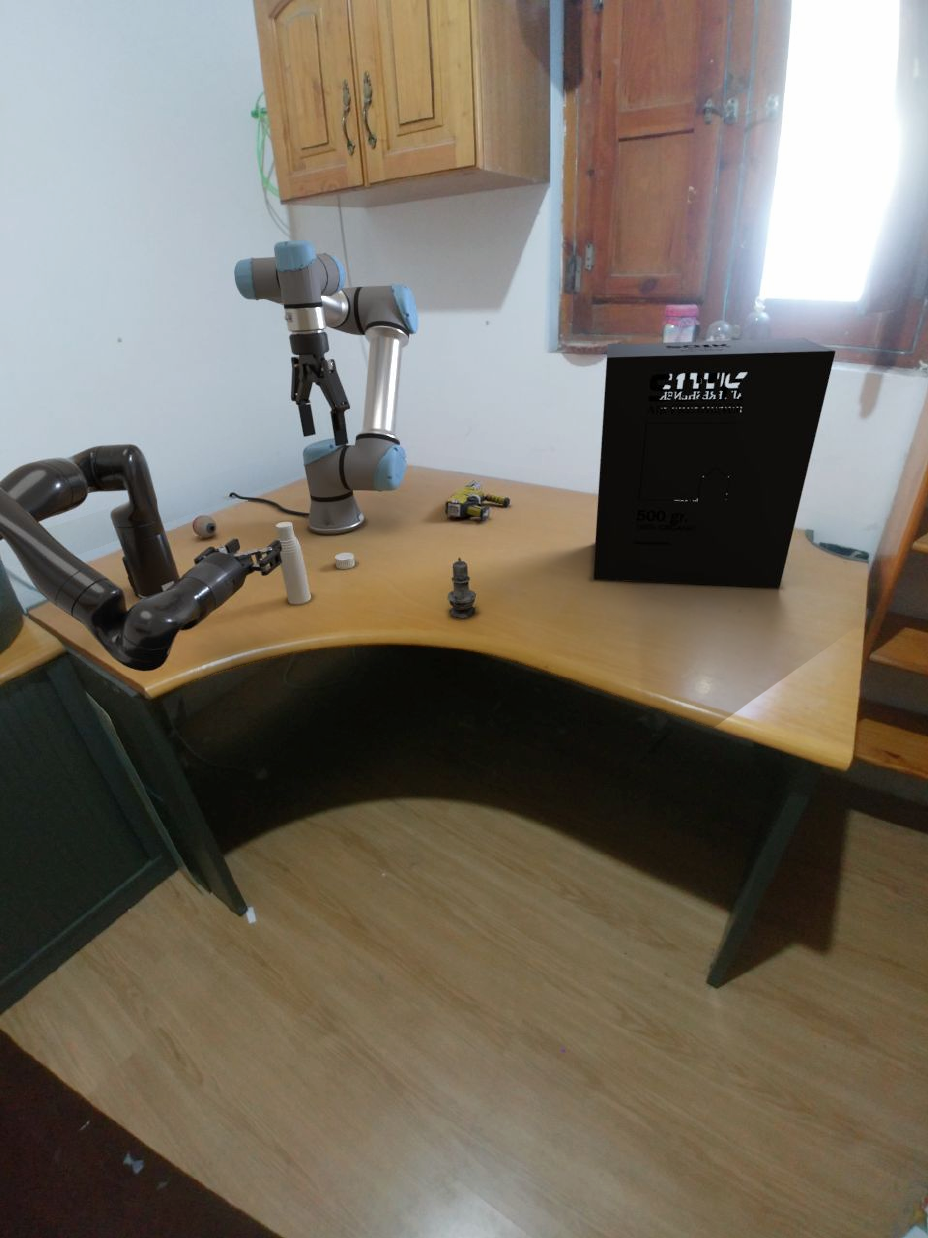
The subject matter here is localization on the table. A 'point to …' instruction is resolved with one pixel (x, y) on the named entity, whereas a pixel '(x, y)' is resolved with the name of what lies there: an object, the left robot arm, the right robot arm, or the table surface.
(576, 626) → the table surface
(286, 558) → the bottle
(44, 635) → the table surface
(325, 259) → the right robot arm
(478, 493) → the toy gun
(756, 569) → the cardboard box
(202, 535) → the eyeball
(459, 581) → the grey chess piece
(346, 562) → the cap
